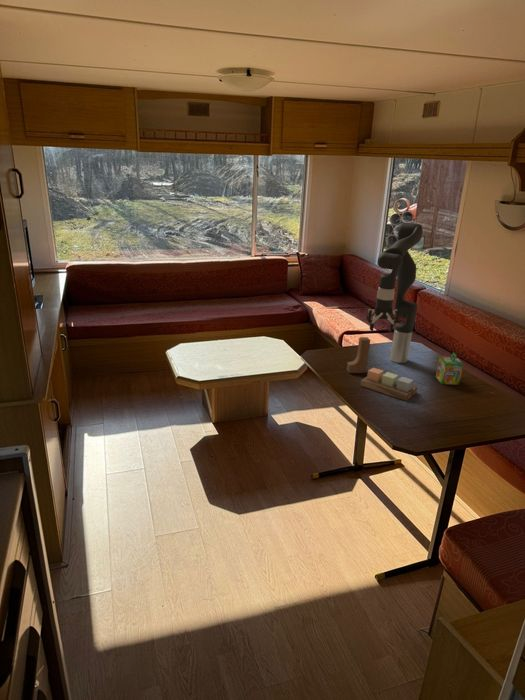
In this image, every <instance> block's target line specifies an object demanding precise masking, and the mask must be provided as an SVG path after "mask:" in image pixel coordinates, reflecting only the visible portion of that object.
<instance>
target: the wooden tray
mask: <svg viewBox="0 0 525 700" xmlns="http://www.w3.org/2000/svg"><path fill="white" fill-rule="evenodd" d="M381 382H382V380H381V381H380V382H378V383H377V382H374V381H371V380H368V379H367V376H365V377H364V378H362V379H361V380H360V386H361V387H364V388H366V389H369V390H373V391H376V392H379V393H381V394H384V395H387V396H391V397H393V398H397V399H399V400H401V401H404V402H407V401H408V400H410V399H411V398H412V397H413V396H414V395H416V394H417V392H418V386H416V385H413V386H412V390H411V391H409V392H405V391H402V390H399V389H396V386H397V385H396V386H394V387H389V386H386V385H383V384H381Z"/></svg>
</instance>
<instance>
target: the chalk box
mask: <svg viewBox="0 0 525 700" xmlns="http://www.w3.org/2000/svg"><path fill="white" fill-rule="evenodd" d="M438 359H439V360H438V365H437V368H436V371H435V372H436V373H435V376H434V377H435V378H436V379H437V381H438V382H439V383H440V384H441V385H451V386H452V385H453V386H460V382H461V379H462V378H461V377H462V374H463V373H462V372H463V369H464V363H463V361H461V359H460V358H458V355H457V354H456V353H455V352H452V353H451V355H450V356H439V357H438Z"/></svg>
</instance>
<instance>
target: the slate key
mask: <svg viewBox="0 0 525 700" xmlns="http://www.w3.org/2000/svg"><path fill="white" fill-rule="evenodd" d="M412 386H414V379H412V378H409V377H405V376H401V377H399V378H398V380H397V386H396V389H399V390H402V391H405V392H409V391H411V390H412Z"/></svg>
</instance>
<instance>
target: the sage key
mask: <svg viewBox="0 0 525 700" xmlns="http://www.w3.org/2000/svg"><path fill="white" fill-rule="evenodd" d="M398 379H399V374H396V373H392V372H389V371H386V372H385V373H383V375H382V382H381V384H383V385H386V386H389V387H394V386H396V385H397V380H398Z"/></svg>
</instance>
